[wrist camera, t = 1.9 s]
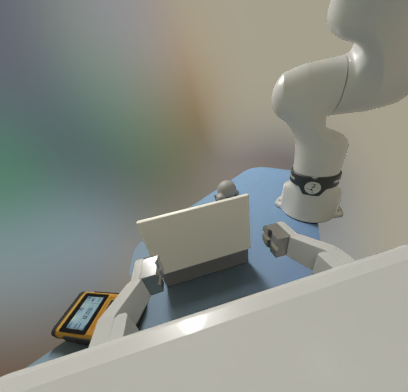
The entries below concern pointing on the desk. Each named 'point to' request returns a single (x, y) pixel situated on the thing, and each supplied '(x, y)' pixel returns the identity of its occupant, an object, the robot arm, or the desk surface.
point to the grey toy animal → (226, 190)
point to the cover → (198, 233)
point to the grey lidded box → (205, 268)
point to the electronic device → (84, 317)
